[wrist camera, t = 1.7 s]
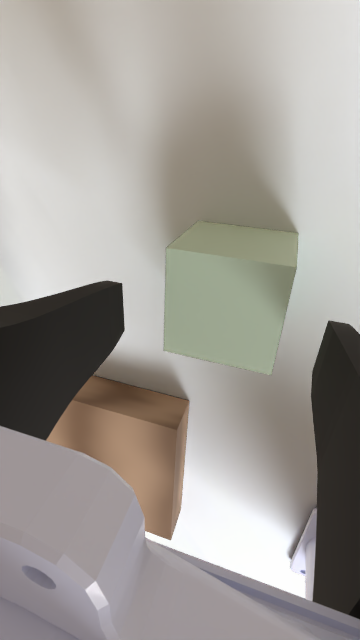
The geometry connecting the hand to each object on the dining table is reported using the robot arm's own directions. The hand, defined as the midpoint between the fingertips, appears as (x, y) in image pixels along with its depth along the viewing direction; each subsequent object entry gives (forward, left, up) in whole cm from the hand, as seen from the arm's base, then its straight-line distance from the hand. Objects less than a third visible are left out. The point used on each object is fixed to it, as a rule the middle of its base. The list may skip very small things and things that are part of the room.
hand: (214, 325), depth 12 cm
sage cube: (0, 0, -6) cm, 6 cm away
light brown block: (+8, +15, -5) cm, 18 cm away
